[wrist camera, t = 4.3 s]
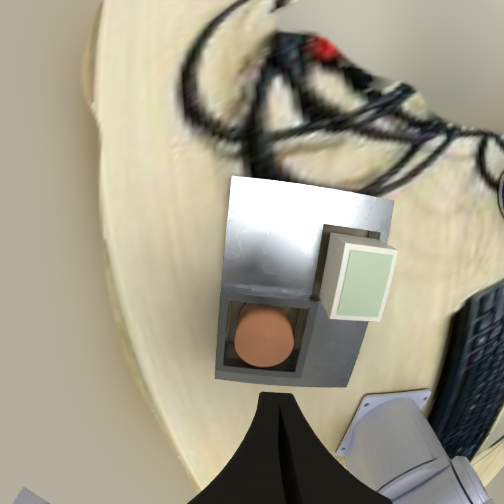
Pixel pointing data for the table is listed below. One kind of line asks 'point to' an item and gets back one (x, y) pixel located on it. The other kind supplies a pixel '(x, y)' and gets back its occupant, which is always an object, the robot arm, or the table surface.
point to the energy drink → (501, 193)
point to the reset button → (263, 335)
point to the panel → (291, 275)
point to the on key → (357, 277)
